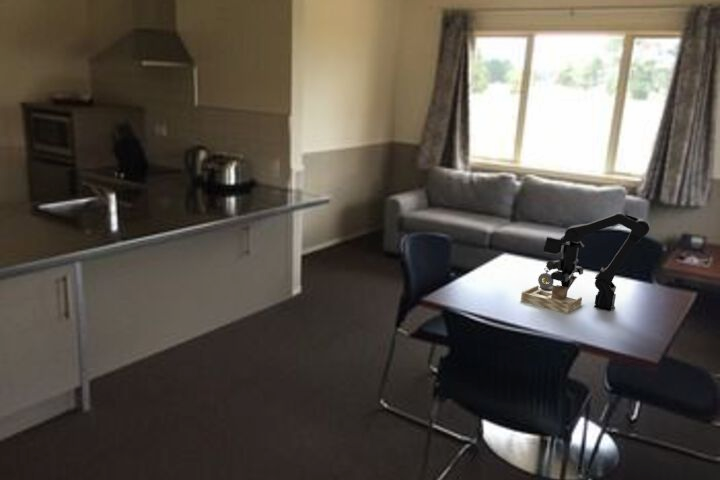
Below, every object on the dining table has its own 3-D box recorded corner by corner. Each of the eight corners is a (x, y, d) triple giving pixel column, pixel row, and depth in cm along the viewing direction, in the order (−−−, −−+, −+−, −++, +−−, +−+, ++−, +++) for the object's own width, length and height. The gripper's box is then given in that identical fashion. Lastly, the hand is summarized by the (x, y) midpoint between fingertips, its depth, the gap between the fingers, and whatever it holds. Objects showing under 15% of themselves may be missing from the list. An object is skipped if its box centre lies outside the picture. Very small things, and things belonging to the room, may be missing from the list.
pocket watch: (553, 286, 269) (556, 264, 267) (557, 292, 261) (561, 270, 259) (535, 284, 270) (537, 263, 268) (538, 290, 262) (541, 268, 259)
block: (566, 298, 248) (568, 287, 247) (561, 300, 245) (563, 289, 244) (556, 295, 251) (557, 284, 250) (551, 297, 248) (552, 287, 247)
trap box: (580, 305, 246) (582, 297, 245) (566, 313, 236) (567, 305, 235) (536, 293, 259) (537, 285, 258) (520, 300, 248) (521, 292, 248)
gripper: (560, 248, 260) (556, 283, 264) (541, 255, 246) (536, 292, 250) (586, 254, 253) (580, 290, 256) (567, 262, 239) (561, 299, 243)
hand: (564, 292), depth 252 cm, fingers closed
